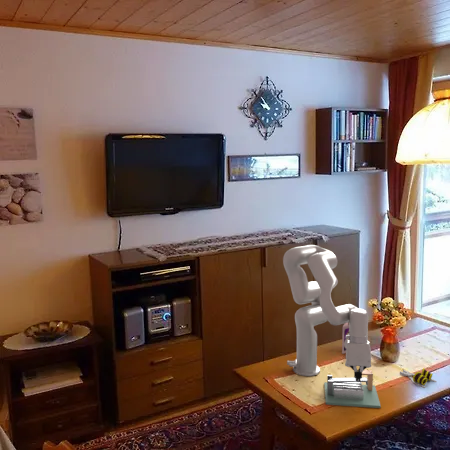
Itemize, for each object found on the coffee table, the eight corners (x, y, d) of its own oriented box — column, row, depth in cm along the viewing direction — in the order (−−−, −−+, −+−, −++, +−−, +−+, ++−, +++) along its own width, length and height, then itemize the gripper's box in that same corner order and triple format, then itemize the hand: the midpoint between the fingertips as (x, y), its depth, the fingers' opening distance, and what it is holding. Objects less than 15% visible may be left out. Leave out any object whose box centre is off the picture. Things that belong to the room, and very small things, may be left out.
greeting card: (343, 354, 259) (343, 326, 256) (333, 349, 265) (334, 322, 263) (360, 350, 264) (360, 322, 262) (350, 345, 270) (351, 318, 268)
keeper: (359, 389, 219) (359, 373, 218) (358, 385, 223) (358, 369, 222) (372, 390, 218) (372, 374, 217) (371, 385, 222) (371, 370, 221)
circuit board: (325, 404, 209) (325, 402, 209) (324, 384, 227) (324, 382, 226) (380, 408, 206) (380, 405, 205) (374, 387, 223) (374, 385, 223)
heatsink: (327, 397, 213) (328, 383, 212) (327, 386, 222) (327, 372, 221) (363, 399, 210) (363, 385, 209) (360, 388, 220) (361, 374, 219)
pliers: (424, 385, 222) (395, 373, 234) (424, 388, 222) (395, 376, 234) (437, 379, 228) (407, 367, 240) (436, 382, 228) (407, 370, 240)
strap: (329, 385, 215) (328, 380, 215) (328, 382, 218) (328, 377, 218) (367, 384, 213) (367, 380, 212) (366, 381, 216) (366, 376, 215)
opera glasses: (422, 388, 224) (425, 378, 222) (411, 382, 227) (413, 372, 226) (432, 381, 230) (434, 371, 229) (421, 375, 234) (423, 366, 232)
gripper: (340, 341, 209) (340, 382, 211) (378, 342, 207) (377, 384, 209) (339, 334, 216) (339, 375, 219) (375, 335, 214) (375, 376, 216)
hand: (358, 379), depth 214 cm, fingers closed
